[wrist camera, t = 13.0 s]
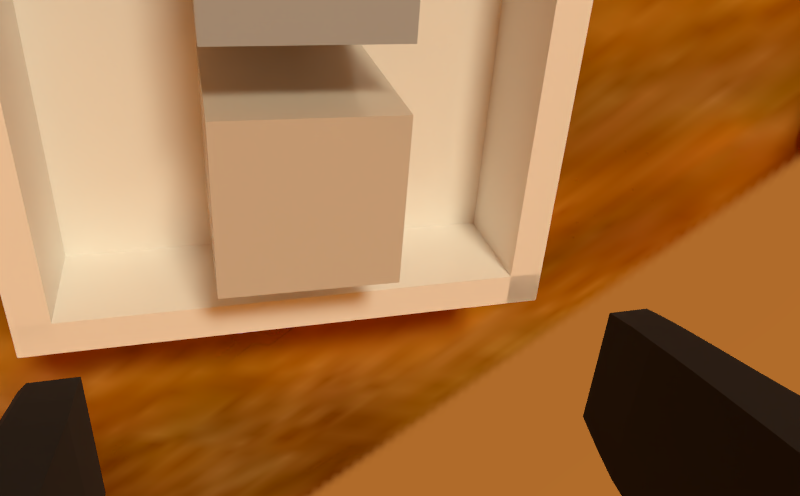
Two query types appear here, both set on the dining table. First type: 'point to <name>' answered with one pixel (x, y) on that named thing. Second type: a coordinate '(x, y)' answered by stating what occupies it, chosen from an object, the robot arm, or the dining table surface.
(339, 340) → the dining table surface
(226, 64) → the beige cuboid
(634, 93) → the dining table surface
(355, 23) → the grey rectangular prism
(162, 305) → the pale wooden open box
